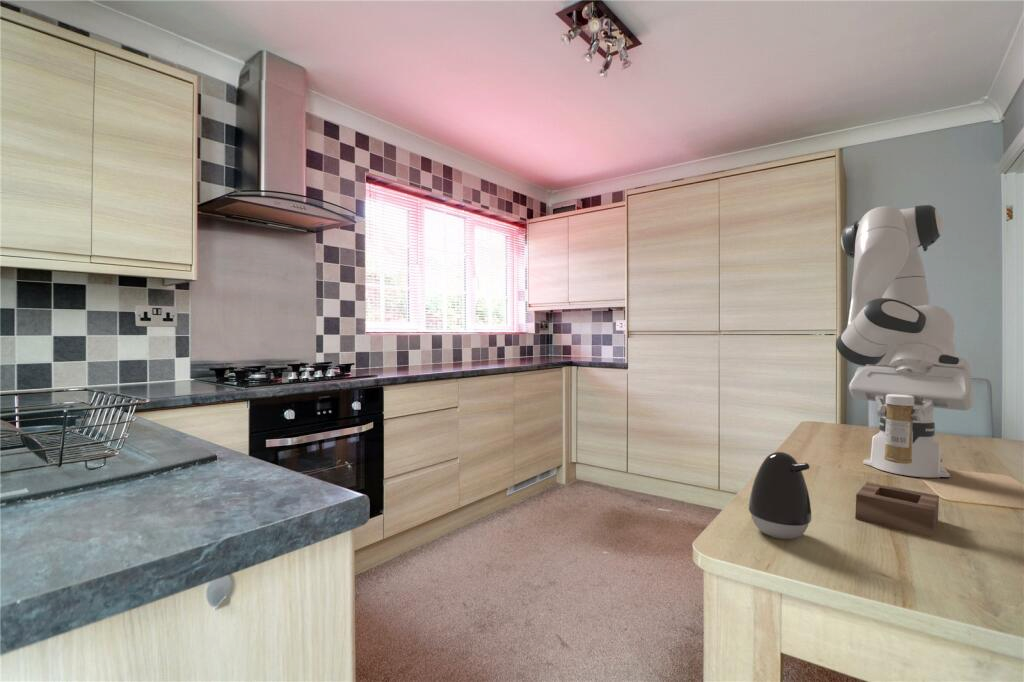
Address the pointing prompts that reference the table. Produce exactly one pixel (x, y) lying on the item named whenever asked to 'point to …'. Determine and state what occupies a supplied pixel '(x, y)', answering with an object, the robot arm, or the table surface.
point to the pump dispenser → (780, 497)
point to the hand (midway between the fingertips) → (898, 417)
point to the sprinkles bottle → (899, 428)
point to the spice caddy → (898, 508)
